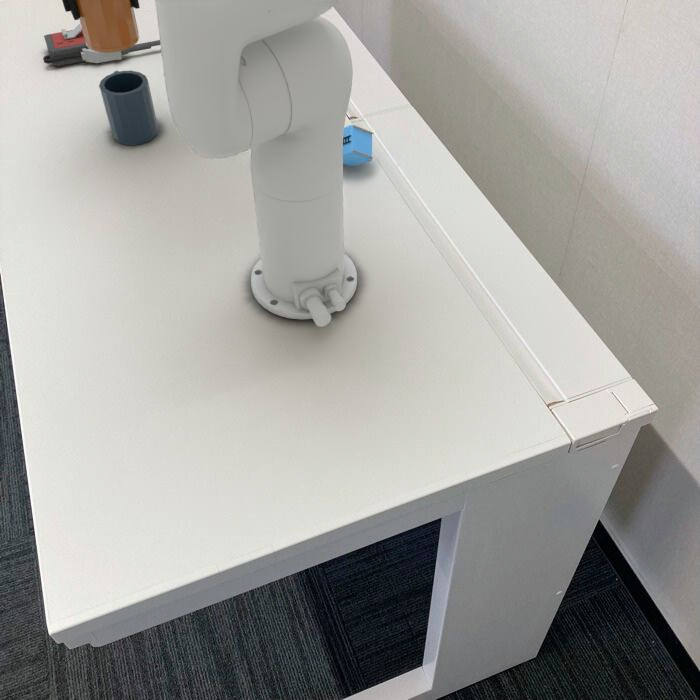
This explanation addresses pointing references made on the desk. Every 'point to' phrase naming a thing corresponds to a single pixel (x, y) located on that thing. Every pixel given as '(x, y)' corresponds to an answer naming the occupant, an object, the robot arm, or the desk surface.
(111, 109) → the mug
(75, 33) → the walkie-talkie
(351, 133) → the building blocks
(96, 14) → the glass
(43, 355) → the desk surface
